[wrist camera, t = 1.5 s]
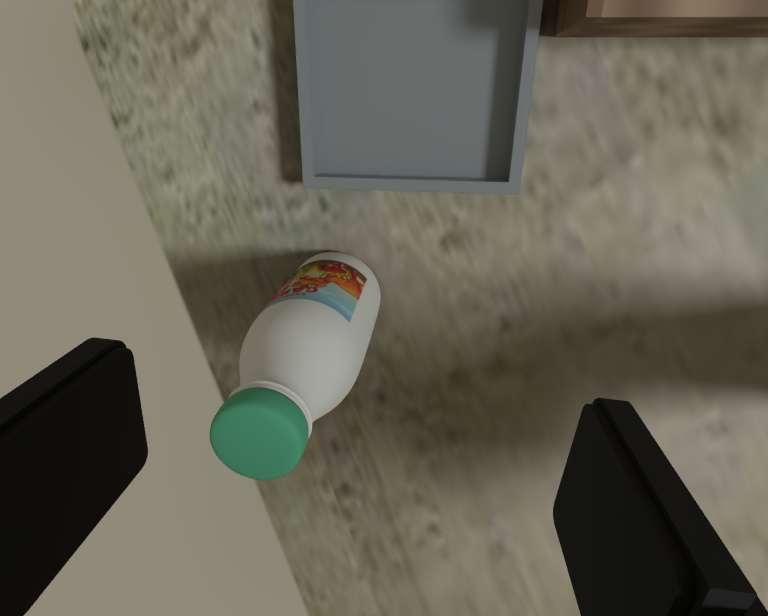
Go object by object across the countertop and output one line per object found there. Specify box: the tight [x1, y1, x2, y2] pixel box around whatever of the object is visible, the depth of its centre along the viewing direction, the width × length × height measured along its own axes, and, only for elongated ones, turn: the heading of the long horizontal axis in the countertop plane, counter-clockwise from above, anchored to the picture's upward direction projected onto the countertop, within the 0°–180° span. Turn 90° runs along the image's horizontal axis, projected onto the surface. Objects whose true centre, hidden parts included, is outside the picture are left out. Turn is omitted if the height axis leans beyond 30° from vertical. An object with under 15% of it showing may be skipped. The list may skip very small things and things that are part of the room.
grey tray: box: [293, 0, 543, 194], centre depth 32 cm, size 16×16×2 cm
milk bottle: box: [210, 252, 381, 480], centre depth 31 cm, size 8×8×20 cm
